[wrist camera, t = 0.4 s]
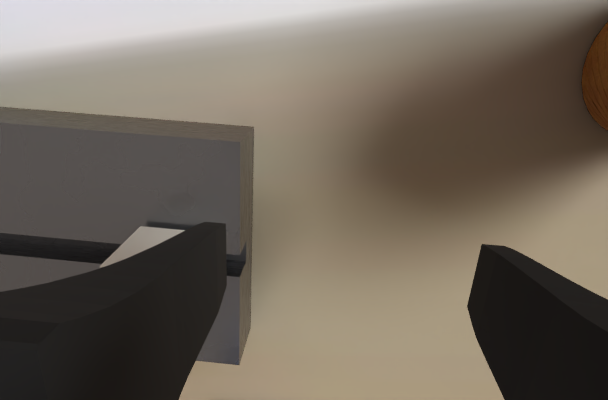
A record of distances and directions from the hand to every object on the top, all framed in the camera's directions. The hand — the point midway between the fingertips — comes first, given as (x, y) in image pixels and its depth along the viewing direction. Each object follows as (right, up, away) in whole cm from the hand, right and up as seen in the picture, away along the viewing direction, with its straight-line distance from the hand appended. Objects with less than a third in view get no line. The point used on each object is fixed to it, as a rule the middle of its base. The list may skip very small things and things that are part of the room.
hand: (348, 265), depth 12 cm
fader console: (-14, +1, +11) cm, 18 cm away
